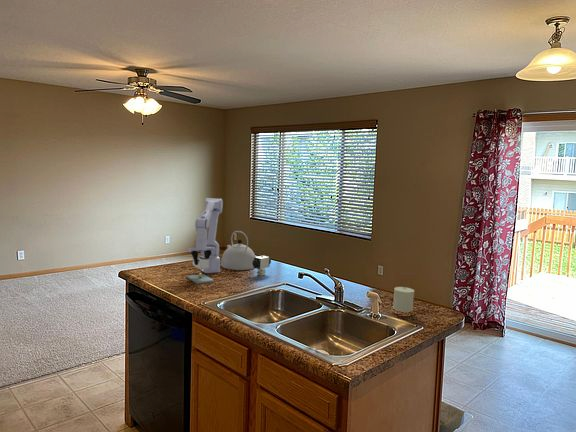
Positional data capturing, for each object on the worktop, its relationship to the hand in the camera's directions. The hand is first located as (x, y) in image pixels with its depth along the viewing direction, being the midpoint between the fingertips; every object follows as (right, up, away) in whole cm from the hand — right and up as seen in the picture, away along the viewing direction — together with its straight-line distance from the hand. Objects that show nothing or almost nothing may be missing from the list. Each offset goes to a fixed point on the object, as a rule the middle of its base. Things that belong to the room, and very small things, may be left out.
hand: (200, 264), depth 239 cm
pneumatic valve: (+32, -9, +19) cm, 38 cm away
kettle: (+16, -6, +41) cm, 44 cm away
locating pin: (-1, -9, +1) cm, 9 cm away
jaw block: (0, -2, 0) cm, 2 cm away
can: (+102, -19, -36) cm, 110 cm away
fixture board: (-1, -9, +1) cm, 9 cm away
